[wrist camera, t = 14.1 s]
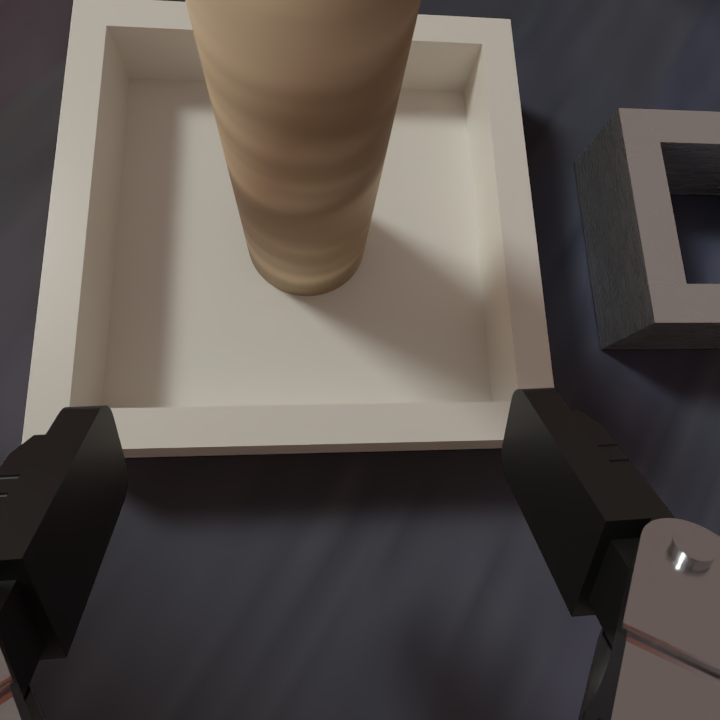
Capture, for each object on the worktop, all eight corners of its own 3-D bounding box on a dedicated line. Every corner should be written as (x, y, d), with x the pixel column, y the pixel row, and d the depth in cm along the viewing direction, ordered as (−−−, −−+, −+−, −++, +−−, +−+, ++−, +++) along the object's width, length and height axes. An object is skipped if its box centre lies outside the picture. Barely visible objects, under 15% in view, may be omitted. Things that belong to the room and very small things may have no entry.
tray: (72, 459, 19) (21, 451, 15) (109, 70, 23) (73, -5, 19) (518, 447, 20) (560, 438, 17) (481, 86, 24) (510, 19, 21)
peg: (294, 318, 20) (272, 69, 8) (224, 228, 20) (109, -126, 9) (387, 253, 21) (488, -54, 9) (318, 169, 21) (329, -222, 10)
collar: (600, 349, 22) (655, 322, 18) (574, 163, 24) (618, 108, 20) (793, 348, 22) (880, 322, 19) (752, 168, 24) (824, 115, 21)
